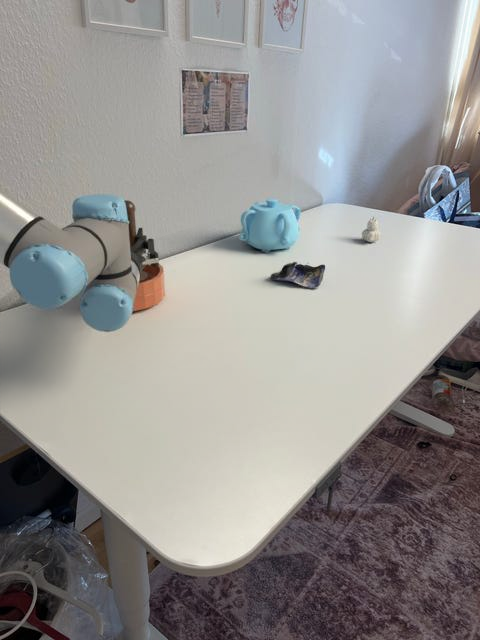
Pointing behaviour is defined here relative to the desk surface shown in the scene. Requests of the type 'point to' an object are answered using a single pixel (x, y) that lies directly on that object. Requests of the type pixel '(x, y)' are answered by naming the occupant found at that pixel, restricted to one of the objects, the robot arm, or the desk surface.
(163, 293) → the bowl
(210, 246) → the desk surface
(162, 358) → the desk surface
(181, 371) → the desk surface
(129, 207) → the muddler
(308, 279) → the snack package
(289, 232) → the decorative pot
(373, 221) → the cream small figurine
